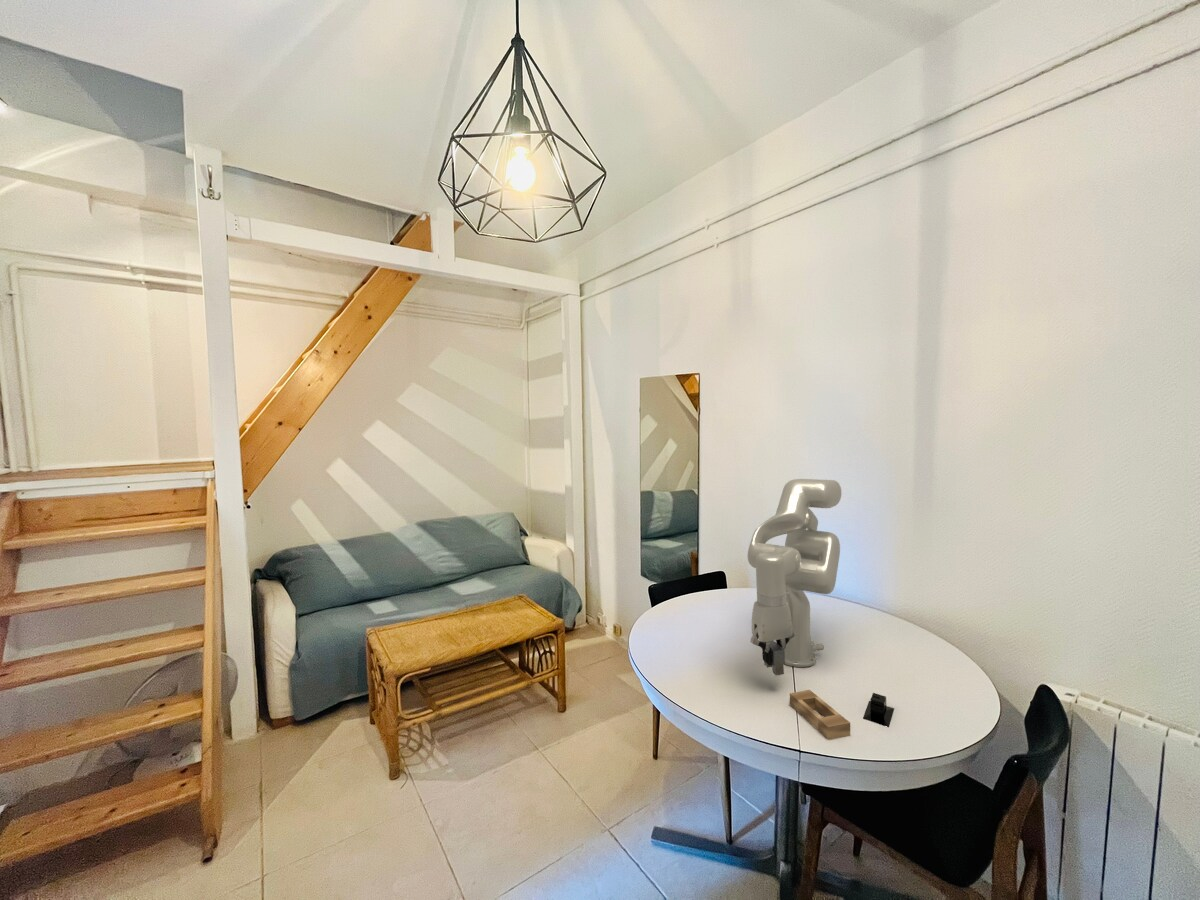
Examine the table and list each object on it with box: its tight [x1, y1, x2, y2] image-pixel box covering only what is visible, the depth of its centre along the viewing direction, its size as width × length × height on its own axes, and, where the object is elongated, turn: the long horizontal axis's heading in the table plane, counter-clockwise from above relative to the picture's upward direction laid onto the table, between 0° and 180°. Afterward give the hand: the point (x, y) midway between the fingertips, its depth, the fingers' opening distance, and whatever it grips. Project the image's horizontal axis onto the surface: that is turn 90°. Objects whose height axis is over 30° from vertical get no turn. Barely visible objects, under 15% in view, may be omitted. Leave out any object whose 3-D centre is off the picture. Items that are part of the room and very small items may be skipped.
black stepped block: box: [862, 692, 895, 728], centre depth 112 cm, size 12×7×5 cm, turn 140°
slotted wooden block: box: [789, 689, 851, 741], centre depth 111 cm, size 14×6×3 cm, turn 13°
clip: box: [763, 640, 786, 677], centre depth 124 cm, size 6×3×7 cm, turn 13°
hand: (773, 661), depth 125 cm, fingers closed on clip, 3 cm apart
